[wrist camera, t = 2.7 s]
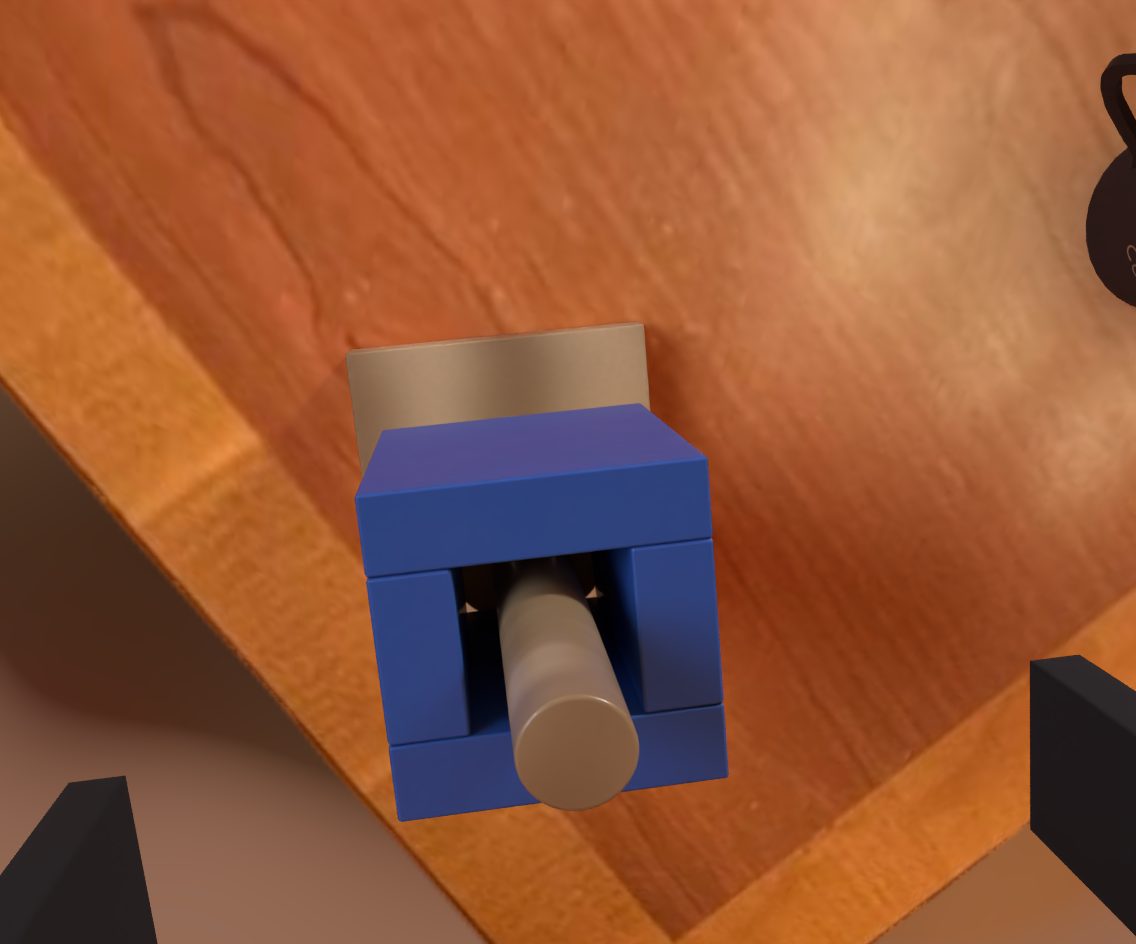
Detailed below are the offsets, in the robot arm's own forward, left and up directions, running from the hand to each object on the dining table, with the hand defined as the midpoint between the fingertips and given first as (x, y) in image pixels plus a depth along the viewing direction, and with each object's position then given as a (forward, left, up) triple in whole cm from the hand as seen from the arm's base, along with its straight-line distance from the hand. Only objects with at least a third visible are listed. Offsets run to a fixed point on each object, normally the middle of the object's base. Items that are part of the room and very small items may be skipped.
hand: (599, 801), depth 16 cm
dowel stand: (0, 0, -24) cm, 24 cm away
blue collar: (0, 0, -15) cm, 15 cm away
